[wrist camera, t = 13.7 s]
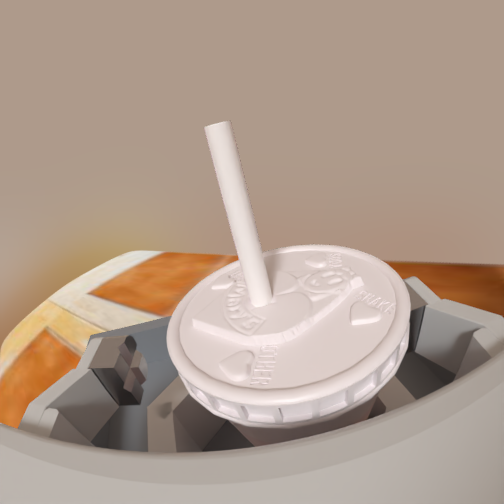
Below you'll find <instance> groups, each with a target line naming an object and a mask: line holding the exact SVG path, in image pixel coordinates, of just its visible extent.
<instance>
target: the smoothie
mask: <svg viewBox="0 0 504 504" xmlns="http://www.w3.org/2000/svg"><path fill="white" fill-rule="evenodd" d="M204 129H205V133H206V137H207V141H208V145H209V149H210V153H211V157H212V161H213V164H214V168H215V172H216V176H217V179H218V183H219V187H220V191H221V195H222V199H223V202H224V206H225V210H226V213H227V217H228V221H229V225H230V228H231V232H232V235H233V239H234V243H235V247H236V250H237V254H238V258H239V260H238V261H235V262H233V263H231V264H228V265H227V266H225V267H223V268H221V269H219V270H217V271H215V272H214V273H212V274H211V275H209V276H208V277H206V278H205V279H203V280H202V281H200V282H199V283H198V284H197V285H196V286H195V287H194V288H192V289H191V290H190V291H189V292H188V293H187V294H186V296H185V297H184V298H183V299H182V300H181V302H180V303H179V304H178V306H177V308H176V309H175V311H174V313H173V315H172V317H171V319H170V322H169V325H168V329H167V348H168V352H169V355H170V357H171V360H172V362H173V364H174V365H175V367H176V369H177V370H178V374H179V376H180V378H181V380H182V381H183V383H184V385H185V387H186V388H187V390H188V392H189V394H190V395H191V396H192V397H193V398H194V399H195V400H196V401H198V402H199V403H200V404H201V405H203V406H204V407H205V408H206V409H208V410H209V411H210V412H211V413H213V414H214V415H217V416H219V417H222V418H224V419H227V420H229V421H230V423H232V424H233V425H234V426H235V427H236V428H237V429H238V430H239V431H240V432H241V433H242V434H243V435H244V436H245V437H246V438H247V439H248V440H249V441H250V442H251V443H252V444H253V445H254V446H255V447H257V446H264V445H270V444H276V443H282V442H287V441H292V440H297V439H301V438H306V437H310V436H314V435H318V434H322V433H326V432H329V431H333V430H337V429H340V428H343V427H347V426H350V425H353V424H356V423H359V422H362V421H365V420H367V418H368V416H369V414H370V412H371V409H372V407H373V405H374V402H375V400H376V398H377V396H378V394H379V391H380V390H381V389H382V388H383V387H384V386H385V385H386V384H387V382H388V381H389V380H390V379H391V378H392V377H393V376H394V375H395V374H396V372H397V370H398V368H399V366H400V364H401V362H402V359H403V357H404V355H405V353H406V351H407V349H408V341H409V327H410V323H409V319H410V309H411V303H410V297H409V293H408V290H407V287H406V285H405V283H404V281H403V280H402V279H401V277H400V276H399V275H398V274H397V272H396V271H395V270H394V269H392V268H391V267H390V266H389V265H388V264H386V263H385V262H383V261H382V260H380V259H378V258H377V257H375V256H372V255H370V254H367V253H365V252H362V251H360V250H356V249H352V248H347V247H342V246H333V245H298V246H290V247H283V248H277V249H273V250H268V251H265V252H262V249H261V245H260V240H259V236H258V232H257V227H256V223H255V219H254V215H253V210H252V206H251V202H250V198H249V194H248V189H247V186H246V181H245V177H244V173H243V169H242V165H241V160H240V157H239V152H238V148H237V144H236V140H235V136H234V132H233V128H232V124H231V121H225V122H220V123H216V124H213V125H209V126H206V127H204Z"/></svg>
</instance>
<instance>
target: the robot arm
mask: <svg viewBox="0 0 504 504" xmlns="http://www.w3.org/2000/svg"><path fill="white" fill-rule="evenodd" d="M403 281H404V283H405V285H406V287H407V290H408V293H409V297H410V303H411V309H410V319H409V323H410V327H409V341H408V349H407V351H406V353H405V354H407V353H410V352H412V351H415V352H416V353H418V354H420V355H422V356H424V357H425V358H427V359H429V360H431V361H433V362H434V363H436V364H438V365H440V366H442V367H443V368H445V369H447V370H449V371H451V372H453V373H454V374H456V376H455V379H454V381H453V382H452V383H450V384H448V385H446V386H444V387H442V388H440V389H438V390H436V391H434V392H432V393H430V394H428V395H426V396H424V397H422V398H420V399H418V400H415V401H413V402H411V403H409V404H406V405H404V406H402V407H399V408H397V409H394V410H392V411H389V412H387V413H384V414H382V415H379V416H376V417H374V418H371V419H368V420H365V421H362V422H359V423H356V424H353V425H350V426H347V427H343V428H340V429H337V430H333V431H329V432H326V433H322V434H318V435H314V436H310V437H306V438H301V439H297V440H292V441H287V442H282V443H276V444H270V445H264V446H257V447H250V448H242V449H233V450H223V451H209V452H182V453H166V452H140V451H126V450H116V449H107V448H100V447H95V446H94V445H93V444H92V443H91V441H92V439H93V438H94V437H95V436H96V434H97V433H98V432H99V431H100V430H101V428H102V427H103V426H104V425H105V423H106V422H107V421H108V420H109V419H110V417H111V416H112V415H113V414H114V413H115V411H116V410H117V409H118V408H119V406H127V405H141V400H142V396H143V392H144V389H143V388H142V386H141V385H142V384H143V383H144V382H145V381H146V380H147V375H148V367H147V363H146V360H145V358H144V356H143V354H142V353H140V352H139V351H137V350H136V347H137V343H136V341H135V339H134V338H133V337H132V336H130V335H124V336H112V337H100V338H94V339H91V341H90V343H89V345H88V346H87V348H86V350H85V352H84V354H83V356H82V358H81V360H80V362H79V364H78V366H77V368H76V369H72V370H71V371H70V372H68V373H67V374H66V375H65V376H63V377H62V378H61V379H60V380H58V381H57V382H56V383H54V384H53V385H52V386H51V387H49V388H48V389H47V390H46V391H44V392H43V393H42V394H41V395H39V396H38V397H37V398H36V399H34V400H33V401H32V402H31V403H30V404H29V406H28V408H27V410H26V412H25V414H24V416H23V418H22V420H21V422H20V425H19V427H18V429H17V428H14V427H11V426H8V425H5V424H3V423H0V504H504V318H503V317H502V316H501V315H497V314H494V313H491V312H487V311H484V310H481V309H478V308H474V307H471V306H468V305H464V304H461V303H458V302H454V301H451V300H448V299H442V300H441V299H440V298H439V297H438V296H437V295H436V294H434V293H433V292H432V291H431V290H430V289H429V288H428V287H427V286H426V285H425V284H424V283H422V282H421V281H420V280H419V279H418V278H417V277H414V276H413V277H410V278H407V279H403Z"/></svg>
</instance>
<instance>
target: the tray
mask: <svg viewBox="0 0 504 504" xmlns="http://www.w3.org/2000/svg"><path fill="white" fill-rule="evenodd" d="M171 317H172V316H169V317H165V318H161V319H157V320H153V321H149V322H145V323H141V324H137V325H133V326H129V327H125V328H120V329H116V330H112V331H107V332H103V333H98V334H94V335H91V336H90V339H89V342H88V345H89V343H90V341H91V339H94V338H100V337H112V336H124V335H130V336H132V337H133V338H134V339H135V341H136V343H137V347H136V350H137V351H139V352H140V353H142V354H143V356H144V358H145V360H146V363H147V367H148V375H147V380H146V381H145V382H144V383H143V384H142V385H141V386H142V388H143V389H144V392H143V396H142V400H141V405H127V406H119V408H118V409H117V410H116V411H115V413H114V414H113V415H112V416H111V417H110V419H109V420H108V421H107V422H106V423H105V425H104V426H103V427H102V428H101V430H100V431H99V432H98V433H97V434H96V436H95V437H94V438H93V439H92V441H91V443H92V444H93V445H94V446H95V447H100V448H107V449H116V450H126V451H140V452H166V453H182V452H209V451H223V450H233V449H242V448H250V447H255V446H254V445H253V444H252V443H251V442H250V441H249V440H248V439H247V438H246V437H245V436H244V435H243V434H242V433H241V432H240V431H239V430H238V429H237V428H236V427H235V426H234V425H233V424H232V423H230V421H229V420H227V419H224V418H222V417H219V416H217V415H214V414H213V413H211V412H210V411H209V410H208V409H206V408H205V407H204V406H203V405H201V404H200V403H199V402H198V401H196V400H195V399H194V398H193V397H192V396H191V395H190V394H189V392H188V390H187V388H186V387H185V385H184V383H183V381H182V380H181V378H180V376H179V374H178V370H177V369H176V367H175V365H174V364H173V362H172V360H171V357H170V355H169V352H168V348H167V329H168V325H169V322H170V319H171ZM88 345H87V346H88ZM455 376H456V374H454V373H453V372H451V371H449V370H447V369H445V368H443V367H442V366H440V365H438V364H436V363H434V362H433V361H431V360H429V359H427V358H425V357H424V356H422V355H420V354H418V353H416V352H415V351H412V352H410V353H407V354H405V355H404V357H403V359H402V362H401V364H400V366H399V368H398V370H397V372H396V374H395V375H394V376H393V377H392V378H391V379H390V380H389V381H388V382H387V384H386V385H385V386H384V387H383V388H382V389H381V390H380V391H379V394H378V396H377V398H376V400H375V402H374V405H373V407H372V409H371V412H370V414H369V416H368V418H367V420H368V419H371V418H374V417H376V416H379V415H382V414H384V413H387V412H389V411H392V410H394V409H397V408H399V407H402V406H404V405H406V404H409V403H411V402H413V401H415V400H418V399H420V398H422V397H424V396H426V395H428V394H430V393H432V392H434V391H436V390H438V389H440V388H442V387H444V386H446V385H448V384H450V383H452V382H453V381H454V379H455Z"/></svg>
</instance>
